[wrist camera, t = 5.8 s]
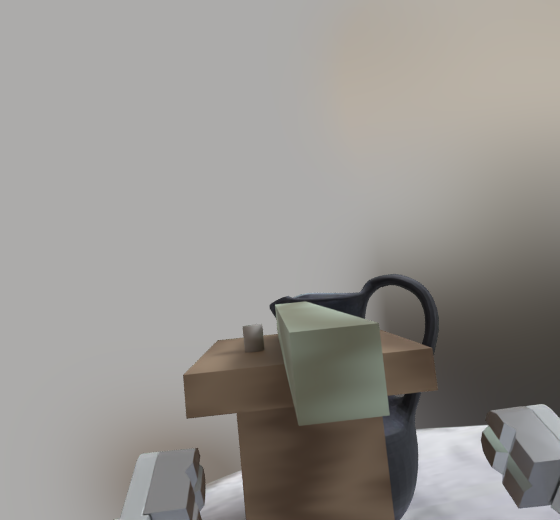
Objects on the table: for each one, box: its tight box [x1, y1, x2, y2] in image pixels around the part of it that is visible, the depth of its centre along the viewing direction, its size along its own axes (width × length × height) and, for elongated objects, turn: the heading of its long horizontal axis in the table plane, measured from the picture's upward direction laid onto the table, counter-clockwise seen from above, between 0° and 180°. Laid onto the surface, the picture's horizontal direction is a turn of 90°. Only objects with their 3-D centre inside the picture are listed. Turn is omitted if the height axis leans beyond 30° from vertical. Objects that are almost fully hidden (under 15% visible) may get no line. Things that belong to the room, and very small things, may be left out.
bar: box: [275, 302, 390, 426], centre depth 19 cm, size 2×19×2 cm, turn 2°
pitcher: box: [270, 274, 439, 520], centre depth 43 cm, size 17×21×30 cm
